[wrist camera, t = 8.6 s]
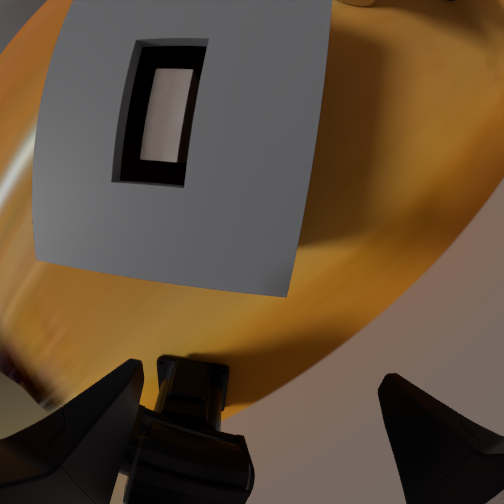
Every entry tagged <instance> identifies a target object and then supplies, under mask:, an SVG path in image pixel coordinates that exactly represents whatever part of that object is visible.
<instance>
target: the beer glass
mask: <svg viewBox="0 0 504 504" xmlns="http://www.w3.org/2000/svg"><path fill="white" fill-rule="evenodd" d="M339 1H341V2H343V3H346V4H349V5H353V6H361V7H364V6H371V5H373V4H375V3H376V2H377V1H378V0H339Z"/></svg>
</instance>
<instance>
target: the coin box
mask: <svg viewBox="0 0 504 504" xmlns="http://www.w3.org/2000/svg"><path fill="white" fill-rule="evenodd" d="M331 7H332V0H73V2H72V4H71V6H70V8H69V11H68V13H67V16H66V18H65V20H64V23H63V26H62V28H61V31H60V34H59V36H58V39H57V42H56V45H55V48H54V51H53V55H52V58H51V61H50V65H49V69H48V72H47V76H46V80H45V85H44V89H43V94H42V99H41V104H40V109H39V115H38V122H37V129H36V137H35V146H34V158H33V177H32V214H33V233H34V245H35V254H36V260H39V261H44V262H49V263H54V264H59V265H64V266H69V267H74V268H79V269H85V270H90V271H96V272H101V273H107V274H113V275H119V276H125V277H131V278H137V279H144V280H150V281H157V282H163V283H170V284H177V285H184V286H192V287H199V288H207V289H215V290H223V291H231V292H239V293H248V294H257V295H267V296H277V297H287V293H288V289H289V284H290V280H291V275H292V270H293V266H294V261H295V256H296V251H297V246H298V241H299V236H300V231H301V226H302V220H303V215H304V210H305V204H306V199H307V193H308V187H309V181H310V176H311V170H312V163H313V157H314V151H315V145H316V138H317V131H318V124H319V117H320V110H321V103H322V95H323V87H324V79H325V70H326V62H327V52H328V42H329V32H330V20H331ZM151 46H207V50H206V54H205V59H204V64H203V68H202V73H201V78H200V83H199V89H198V94H197V100H196V105H195V111H194V117H193V124H192V130H191V137H190V144H189V151H188V159H187V167H186V175H185V184H184V186H182V185H172V184H161V183H148V182H135V181H120V173H121V162H122V152H123V144H124V136H125V129H126V122H127V116H128V110H129V104H130V99H131V93H132V88H133V84H134V79H135V74H136V70H137V66H138V62H139V58H140V54H141V50H142V47H151Z"/></svg>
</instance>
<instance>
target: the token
mask: <svg viewBox="0 0 504 504" xmlns="http://www.w3.org/2000/svg"><path fill="white" fill-rule="evenodd" d="M199 83H200V82H199V80H198V78H197V76H196V74H195V72H194V70H193V69H156V72H155V76H154V80H153V85H152V89H151V94H150V99H149V104H148V110H147V115H146V121H145V127H144V133H143V140H142V147H141V155H140V159H141V160H155V161H167V162H187V159H188V151H189V144H190V137H191V130H192V124H193V117H194V111H195V105H196V100H197V94H198V89H199Z"/></svg>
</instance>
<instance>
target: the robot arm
mask: <svg viewBox="0 0 504 504" xmlns="http://www.w3.org/2000/svg"><path fill="white" fill-rule="evenodd" d="M161 361H163V362H161ZM222 370H226V371H222ZM157 373H158V384H159V394H158V398H157V401H156V405H155V408H154V411H152V410H150V409H147V408H145V406H142V405H140V404H139V403H140V398H141V393H142V389H143V384H144V372H143V364H142V361H140V360H137V359H132V358H131V359H128V360H127V361H126V362H124V363H123V364H121V365H120V366H119V367H117V368H116V369H114V370H113V371H112V372H110V373H109V374H107V375H106V376H105V377H103V378H102V379H100V380H99V381H98V382H96V383H95V384H93V385H92V386H90V387H89V388H88V389H86V390H85V391H83V392H82V393H81V394H79V395H78V396H76V397H75V398H73V399H72V400H71V401H69V402H68V403H66V404H65V405H63V407H60V408H59V409H57V410H56V411H55V412H53V413H51V414H50V415H48V416H47V417H45V418H44V419H42V420H40V421H38V422H36V423H35V424H33V425H31V426H29V427H27V428H25V429H23V430H21V431H19V432H17V433H15V434H13V435H11V436H9V437H6V438H3V439H0V504H110V500H111V496H112V493H113V489H114V486H115V483H116V479H117V476H118V473H121V474H123V475H126V476H128V477H127V481H126V485H125V491H124V499H123V503H124V504H245V503H246V501H247V499H248V497H249V496H250V494H251V492H252V489H253V485H254V479H255V478H254V477H255V475H254V474H255V473H254V467H253V464H252V461H251V458H250V454H249V451H248V448H247V445H246V441H245V438H244V436H242V435H238V434H237V435H233V434H228V433H224V432H220V429H221V428H220V427H221V411H224V407H225V400H226V393H227V386H228V379H229V367H228V366H227V365H221V364H212V363H204V362H197V361H190V360H183V359H177V358H170V357H165V356H160V357H158V359H157ZM378 397H379V401H380V406H381V411H382V415H383V420H384V424H385V428H386V431H387V435H388V438H389V441H390V444H391V447H392V451H393V454H394V458H395V461H396V465H397V468H398V472H399V476H400V480H401V483H402V487H403V491H404V495H405V499H406V503H407V504H504V436H501V435H498V434H496V433H494V432H492V431H490V430H488V429H486V428H484V427H482V426H480V425H478V424H476V423H474V422H473V421H471V420H469V419H467V418H466V417H464V416H463V415H461V414H458V412H456V411H454V410H453V409H451V408H450V407H448V406H447V405H445V404H443V403H442V402H440V401H439V400H437V399H435V398H434V397H432V396H431V395H429V394H428V393H426V392H425V391H423V390H421V389H420V388H418V387H417V386H415V385H414V384H412V383H410V382H409V381H407V380H406V379H404V378H403V377H401V376H400V375H398V374H397V373H390V374H387V375H386V376H385V377H384V379H383V381H382V383H381V384H380V386H379V388H378Z"/></svg>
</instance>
